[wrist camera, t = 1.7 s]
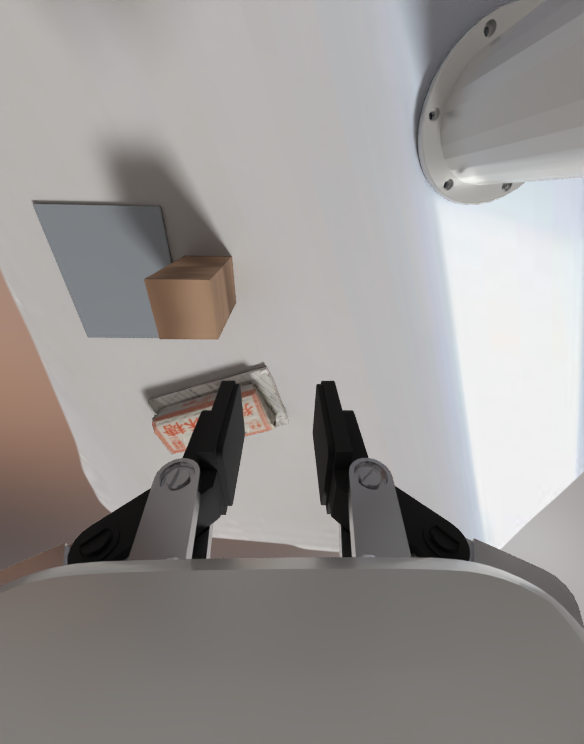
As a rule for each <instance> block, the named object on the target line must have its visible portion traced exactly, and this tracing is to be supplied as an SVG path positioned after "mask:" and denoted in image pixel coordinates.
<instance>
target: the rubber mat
mask: <svg viewBox="0 0 584 744" xmlns="http://www.w3.org/2000/svg"><path fill="white" fill-rule="evenodd" d="M33 206H34V209H35V211H36V214H37V216H38V218H39V221H40V223H41V226H42V228H43V230H44V233H45V235H46V238H47V240H48V242H49V245H50V247H51V250H52V252H53V254H54V257H55V259H56V262H57V264H58V267H59V269H60V271H61V274H62V276H63V279H64V281H65V283H66V286H67V288H68V291H69V293H70V295H71V298H72V300H73V303H74V305H75V307H76V310H77V312H78V315H79V317H80V320H81V322H82V324H83V327H84V329H85V332H86V334H87V336H88V337H104V338H159V335H158V331H157V328H156V324H155V320H154V316H153V312H152V309H151V305H150V301H149V297H148V293H147V290H146V286H145V282H144V279H145V278H147V277H148V276H150V275H152V274H154V273H155V272H157V271H159V270H161V269H163V268H164V267H166V266H168V265H170V264H171V263H172V260H171V256H170V251H169V246H168V241H167V236H166V231H165V226H164V221H163V216H162V211H161V206H115V205H66V204H33Z"/></svg>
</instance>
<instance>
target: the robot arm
mask: <svg viewBox="0 0 584 744" xmlns="http://www.w3.org/2000/svg"><path fill="white" fill-rule="evenodd" d="M484 30H485V32H486V35H485V34H484ZM429 113H431V114H432V119H431V120H430V119H429ZM418 151H419V159H420V163H421V167H422V171H423V173H424V175H425V177H426V179H427V181H428V183H429V184H430V185H431V187H432V188H433V189H434V191H435V192H437V193H438V194H439V195H440V196H442V197H443V198H444V199H447V200H449V201H451V202H454V203H459V204H466V205H468V204H482V203H488V202H492V201H494V200H497V199H499V198H502V197H504V196H506V195H507V194H509V193H511V192H513V191H514V190H516V189H518V188H519V187H520V186H521V185H523V184H524V183H525V182H529V181H543V180H557V179H571V178H584V0H516V1H514V2H511V3H509V4H506V5H503V6H501V7H499V8H498V9H496V10H494V11H493V12H491V13H490V14H488V15H487V16H485V17H483V18H482V19H481V20H480V21H479V22H478V23H477V24H475V25H474V26H473V27H472V28H471V29H470V30H469V31H468V32H467V33H466V34H465V35H464V36H463V37H462V38H461V39H460V40H459V41H458V42H457V43H456V44H455V45H454V47H453V48H452V50H451V51H450V52H449V54H448V55H447V57H446V58H445V59H444V61H443V62H442V64H441V65H440V67H439V69H438V71H437V73H436V75H435V77H434V79H433V81H432V82H431V85H430V88H429V90H428V93H427V96H426V98H425V101H424V104H423V108H422V113H421V117H420V121H419V132H418ZM445 182H446V186H445V188H444V183H445ZM502 185H503V187H502ZM244 437H245V426H244V416H243V406H242V396H241V386H240V384H236V381H235V380H222V382H221V384H220V387H219V390H218V393H217V395H216V398H215V401H214V404H213V407H212V410H203V411H201V413H200V416H199V418H198V421H197V423H196V426H195V428H194V431H193V433H192V436H191V438H190V441H189V443H188V446H187V448H186V451H185V453H184V456H183V458H180V459H176V460H173V461H171V462H168V463H167V464H165V465H164V466H163V467H162V468H161V469H160V470H159V471H158V472H157V474H156V476H155V478H154V481H153V484H152V487H151V488H150V489H149V490H147V491H146V492H144V493H143V494H141V495H139V496H138V497H136V498H135V499H133V500H131V501H130V502H128V503H127V504H125V505H123V506H122V507H120V508H119V509H117V510H115V511H114V512H112V513H111V514H109V515H107V516H106V517H104V518H103V519H101V520H100V521H98V522H96V523H95V524H93V525H92V526H90V527H89V528H87V529H86V530H85V531H83V532H82V533H81V534H80V535H79V536H78V538H77V539H76V540H75V541H74V543H71V544H69V545H67V544H66V543H62V544H60V545H58V546H56V547H53V548H51V549H49V550H47V551H44V552H42V553H40V554H37V555H35V556H33V557H31V558H28V559H26V560H23V561H21V562H19V563H17V564H15V565H12V566H10V567H7V568H5V569H3V570H1V571H0V744H584V625H583V622H582V618H581V614H580V611H579V607H578V604H577V602H576V600H575V598H574V596H573V594H572V593H571V592H570V591H569V589H568V588H567V587H566V585H565V584H564V583H562V582H561V581H560V580H559V579H558V578H557V577H556V576H554V575H552V574H551V573H549V572H547V571H545V570H544V569H541V568H539V567H537V566H535V565H533V564H530V563H528V562H526V561H524V560H521V559H519V558H517V557H515V556H512V555H510V554H508V553H506V552H503V551H501V550H499V549H497V548H495V547H492V546H490V545H488V544H486V543H483V542H481V541H479V540H477V539H473V541H471V540H468V539H466V538H465V536H464V535H463V534H462V533H461V532H460V530H459V529H458V528H456V527H455V526H454V525H453V524H451V523H450V522H449V521H447V520H445V519H444V518H442V517H441V516H439V515H438V514H436V513H435V512H433V511H432V510H430V509H429V508H427V507H426V506H424V505H423V504H421V503H420V502H418V501H417V500H415V499H414V498H412V497H411V496H409V495H408V494H406V493H405V492H403V491H402V490H400V489H399V488H397V487H396V486H395V485H394V481H393V477H392V475H391V472H390V471H389V469H388V468H387V467H386V466H385V465H384V464H382V463H381V462H379V461H377V460H375V459H371V458H368V455H367V452H366V449H365V446H364V442H363V439H362V436H361V433H360V430H359V427H358V423H357V420H356V417H355V414H354V412H353V411H350V410H342V407H341V404H340V400H339V396H338V392H337V389H336V385H335V382H334V381H321V384H317V386H316V398H315V411H314V423H313V440H314V449H315V458H316V466H317V475H318V484H319V493H320V501H321V505H326V510H327V514H331V517H333V518H334V519H335V520H336V521H337V522H338V523H339V547H340V557H339V558H338V557H331V558H329V557H324V558H323V557H321V558H232V559H231V558H229V559H210V550H211V539H212V530H213V523H214V522H215V521H216V520H217V519H218V518H220V515H226V512H227V506H232V504H233V500H234V494H235V488H236V483H237V477H238V471H239V465H240V460H241V454H242V448H243V443H244Z"/></svg>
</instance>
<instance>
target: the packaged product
mask: <svg viewBox="0 0 584 744" xmlns="http://www.w3.org/2000/svg"><path fill="white" fill-rule="evenodd" d="M222 380H235V381H236V384H240V386H241V396H242V406H243V416H244V426H245V436H248V435H253V434H256V433H261V432H265V431H269V430H273V429H274V428H275V427H277V426H280V425H285V424H289V421H288V417H287V413H286V410H285V408H284V406H283V404H282V401H281V399H280V396H279V393H278V391H277V388H276V385H275V383H274V380H273V378H272V376H271V374H270V372H269V370H268V369H267V367H263V368H259V369H255V370H251V371H248V372H245V373H242V374H238V375H235V376H232V377H228V378H224V379H220V380H217V381H213V382H209V383H205V384H200V385H196V386H193V387H190V388H188V389H185V390H182V391H178V392H174V393H170V394H167V395H163V396H160V397H157V398H154V399H150V400H148V403H149V404H150V405H151V406H152V408H153V409H154V411H155V412H156V413H157V415H155V416H154V417H153V418H152V419H153V422H152V426H153V429H154V433H155V435H157V436H158V437H159V439H160V440H161V441H162V442H163V444H164V445H165V447H166V448H167V449H168V450H169V452H170V453H171V454H174V453H178V452H184V451H186V448H187V446H188V443H189V441H190V438H191V436H192V433H193V431H194V428H195V426H196V423H197V421H198V418H199V416H200V413H201V411H203V410H212V407H213V404H214V401H215V398H216V395H217V393H218V390H219V387H220V384H221V382H222Z"/></svg>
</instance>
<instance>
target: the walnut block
mask: <svg viewBox="0 0 584 744" xmlns="http://www.w3.org/2000/svg"><path fill="white" fill-rule="evenodd" d="M144 282H145V286H146V290H147V293H148V297H149V301H150V305H151V309H152V312H153V316H154V320H155V324H156V328H157V331H158V335H159V339H219V337H220V335H221V333H222V331H223V328H224V326H225V324H226V322H227V320H228V318H229V316H230V314H231V312H232V310H233V308H234V306H235V304H236V295H235V285H234V274H233V263H232V257H222V256H184V257H182V258H180V259H178V260H177V261H175V262H173V263H171V264H170V265H168V266H166V267H164V268H163V269H161V270H159V271H157V272H155V273H154V274H152V275H150V276H148V277H147V278H145V279H144Z"/></svg>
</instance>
